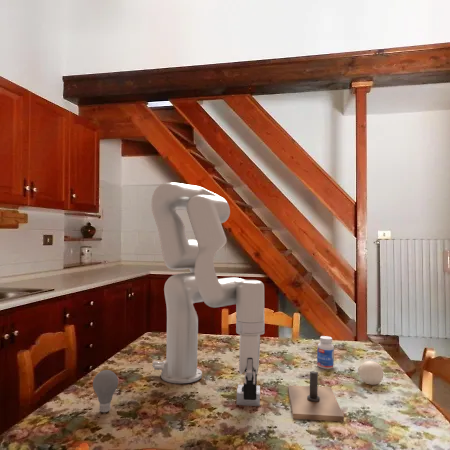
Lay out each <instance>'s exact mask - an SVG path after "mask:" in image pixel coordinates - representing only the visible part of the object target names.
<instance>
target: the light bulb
mask: <svg viewBox="0 0 450 450" xmlns="http://www.w3.org/2000/svg"><path fill="white" fill-rule="evenodd" d="M118 384H119V378H118V376H117V374H116V373H115V372H114V371H112V370H110V369H103V370H101V371H100V372H98V373H96V375H95V376H94V378H93V381H92V389H93V391H94V392H95V394H96V396H97V400H98V403H99V412H101V413H107V412H109V411H111V404H112V403H111V401H113V395H114V393H115V392H116V389H117V388H118Z"/></svg>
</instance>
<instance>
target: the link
mask: <svg viewBox="0 0 450 450" xmlns="http://www.w3.org/2000/svg"><path fill="white" fill-rule="evenodd" d="M236 388H237V389H236V406H238V405H239V406H249V407H251V406H252V407H260V406H261V385H258V384H257V385H256V400H244V384H237V387H236Z"/></svg>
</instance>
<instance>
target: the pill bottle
mask: <svg viewBox="0 0 450 450" xmlns="http://www.w3.org/2000/svg"><path fill="white" fill-rule="evenodd" d="M316 349H317V351H316V352H317V356H316V358H317V359H316V366H317V367H318V368H321V369H326V370H327V369H328V370H331V369H332V368H334V361H335V359H334V358H335V357H334V356H335V346H334V344H333V337H331V336H328V335H326V336H325V335H321V336H320V337H319V343H317V348H316Z"/></svg>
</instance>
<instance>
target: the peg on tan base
mask: <svg viewBox="0 0 450 450" xmlns="http://www.w3.org/2000/svg"><path fill="white" fill-rule="evenodd" d="M318 376H319V374H318V372H317V371H315V370H314V371H309V386H308V385H287V392H288V398H289V402H290V403H289V404H290V408H291V413H292V414H291V415H292V419H295V420H312V421H327V422H328V421H330V422H345V416H344V413H343V411H342V409H341V407H340V405H339V402H338V400H337V399H336V396H335V394H334V391H333V389H332V387H328V386H327V387H325V386H324V387H323V386H319V385H318V380H319V377H318Z"/></svg>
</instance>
